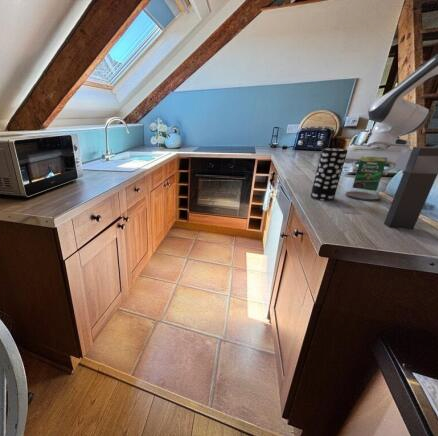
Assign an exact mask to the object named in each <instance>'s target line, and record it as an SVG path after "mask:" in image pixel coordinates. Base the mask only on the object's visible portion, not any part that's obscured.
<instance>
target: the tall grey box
mask: <svg viewBox="0 0 438 436" xmlns="http://www.w3.org/2000/svg"><path fill="white" fill-rule="evenodd" d="M393 169H396V170H399V171H402V172H401V174H402V176H401V178H400V180H399V184H398V186H397V188H396V191H395V194H394V196H393V199H392V201H391V204H390V207H389V209H388V212H387V214H386V216H385V219H384V222H383V225H385V226H386V227H388V228H392V229H393V228H394V229H407V230H414V229H415V226H416V224H417V222H418V220H419V217H420V215H421V213H422V210H423V208H424V207H425V204H426V202H427V199H428V197H429V195H430V193H431V190H432V188H433V186H434V183H435V181H436V179H437V177H438V146H413V147H412V150H411V152H400V153H399V156H398V158H397V161H396V164H395V167H393Z"/></svg>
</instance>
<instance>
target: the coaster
mask: <svg viewBox="0 0 438 436" xmlns="http://www.w3.org/2000/svg"><path fill="white" fill-rule="evenodd" d="M344 195H345V197H347V198H349V199H353V200H359V201H365V202H375V201H379V199H380V196H379V195H377V194H374V193H370V192H366V191H365V192H364V191H354V190H353V191H351V190H350V191H346V192H345V194H344Z"/></svg>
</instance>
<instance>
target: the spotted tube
mask: <svg viewBox="0 0 438 436" xmlns="http://www.w3.org/2000/svg"><path fill="white" fill-rule="evenodd" d="M347 151H348V150H347V148H336V147H335V148H334V147H332V148H329V147H325V148H321V151H320V155H319V159H318V163H317V168H316V172H315V175H314V179H313V184H312V188H311V192H310V195H309V196H310V198H311V199H313V200H317V201H323V202H332V201H334V200H335V197H336V193H337V189H338V186H339V182H340V179H341V176H342V172H343V169H344V164H345V163H344V162H345V158H346V155H347Z"/></svg>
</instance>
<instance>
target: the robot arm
mask: <svg viewBox="0 0 438 436" xmlns="http://www.w3.org/2000/svg"><path fill="white" fill-rule="evenodd" d="M437 75H438V53H437V54H435V55H434V56H433V57H431V58H430V59H429V60H427V61H426V62H424V63H423V64H422V65H420V67H418V68H416V70H414V71H413V72H412V73H411V74H409V75H408V76H407V77H405V78H404V79H403V80H402V81H400V82H399V83H398V84H397V85H395V86H394V87H393V88H392V89H390V90H389V91H388V92H386V93H384V94H383V95H381V96H380V97H379V98H377V99H376V100H375V101H374V102H373V103H372V104H371V105H370V106H369V108H368V111H367V114H368V119H369V120H370V121H372V122H374V125H373V127H372V129H371V135H370V136H369V137H368V138H367V139H368V140H367V142H366V144H358V143H357V144H356V143H354V144H351V145H348V146H347V147H346V150H348V151H347V155H346V158H345V162H344V164H348V165H349V164H350V165H351V167H352V168H353V169H352V172H353V173H357V170H358V166H357V165H359V162H360V159H361V157H363V156H364V157H382V158H387V160H386V163H385V167H384V170H383V172H382V176H387V175H388V173H389V172H391V171H392V170H393V169H394V167H395V164H396V161H397V158H398V156H399V153H400V152H412V150H411V143H412V142H411V141H410V140H408V139H402V138H399V137H403V136H407V135H409V134H413V133H415V132H417V131H418V130H420V129H422V128H423V127H424V126H425V125H426V124H427V122H428V119H429V117H430V109H429V108H427V107H425V106H424V105H421V104H418V103H416V102H413V101H409V100H407V99H406V98H404V97H405V96H407V95H408V94H410V92H412V91H413V90H415V89H416V88H417V87H419V86H420V85H422V83H424V82H425V81H427V80H428V79H430V78H432V77H434V76H437Z"/></svg>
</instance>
